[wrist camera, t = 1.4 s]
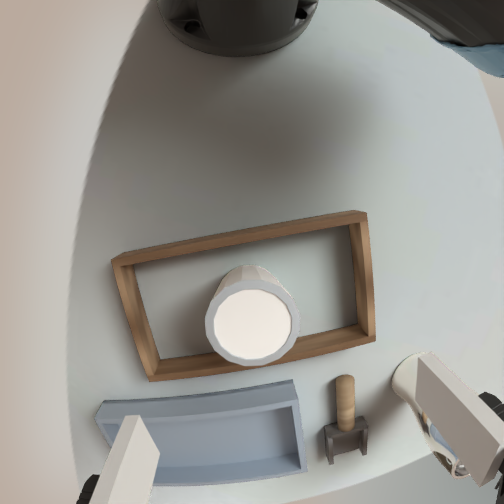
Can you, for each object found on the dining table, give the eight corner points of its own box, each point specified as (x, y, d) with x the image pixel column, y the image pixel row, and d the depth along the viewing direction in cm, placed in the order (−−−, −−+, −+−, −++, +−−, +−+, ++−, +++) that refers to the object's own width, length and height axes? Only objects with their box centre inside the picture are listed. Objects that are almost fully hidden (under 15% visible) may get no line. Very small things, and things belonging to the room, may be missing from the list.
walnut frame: (122, 252, 28) (110, 259, 25) (354, 210, 28) (366, 212, 25) (155, 366, 30) (149, 381, 27) (364, 328, 30) (375, 341, 27)
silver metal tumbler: (376, 391, 32) (435, 481, 17) (410, 340, 31) (490, 418, 16) (415, 402, 33) (474, 479, 18) (446, 357, 32) (520, 424, 17)
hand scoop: (320, 380, 31) (324, 390, 29) (363, 369, 31) (369, 379, 29) (326, 454, 34) (329, 465, 32) (361, 444, 34) (366, 454, 32)
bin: (103, 400, 31) (93, 418, 27) (292, 379, 31) (298, 398, 28) (139, 467, 33) (134, 485, 30) (302, 451, 33) (307, 471, 30)
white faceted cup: (202, 267, 28) (192, 291, 21) (278, 249, 28) (291, 269, 22) (221, 335, 30) (218, 375, 23) (292, 319, 30) (307, 355, 23)
